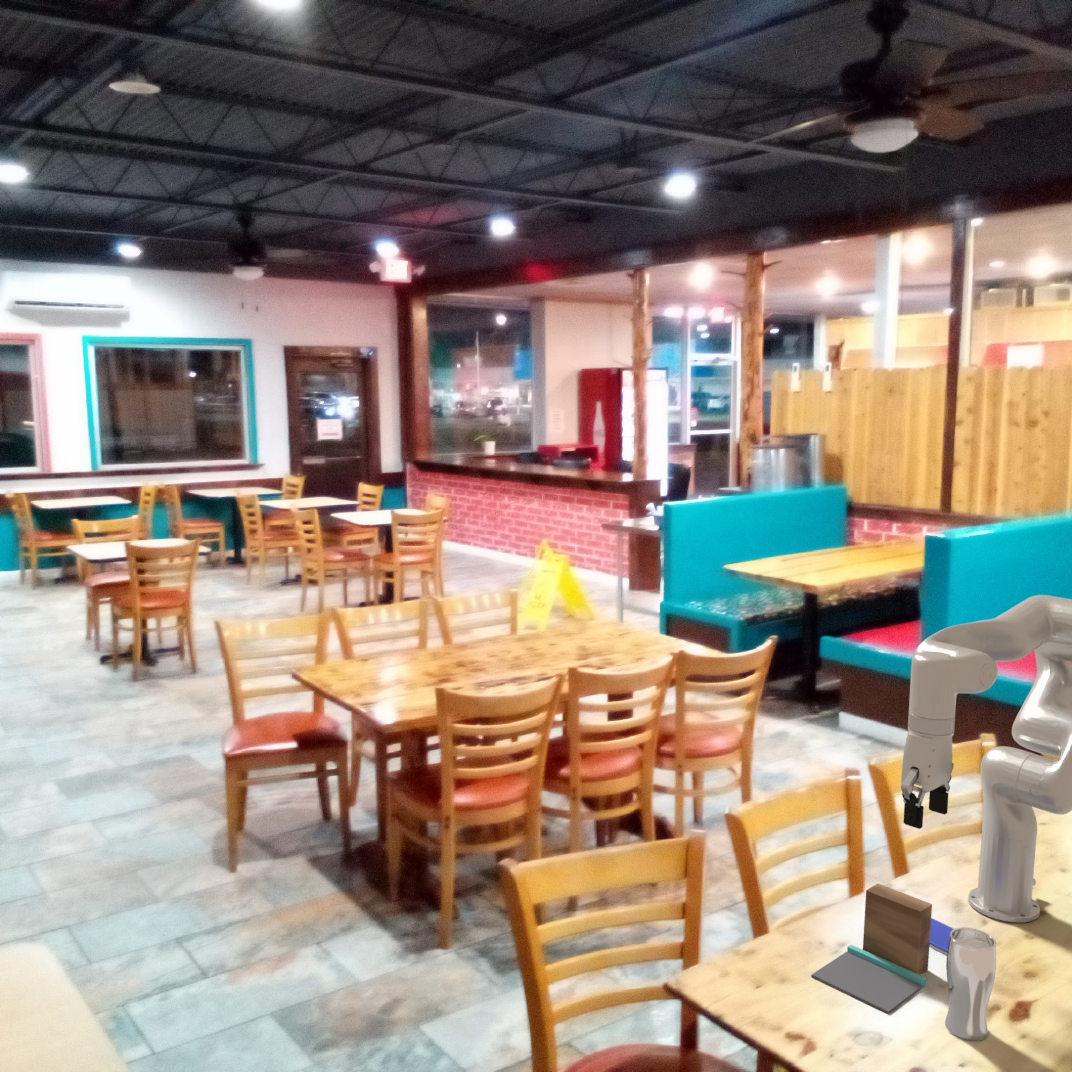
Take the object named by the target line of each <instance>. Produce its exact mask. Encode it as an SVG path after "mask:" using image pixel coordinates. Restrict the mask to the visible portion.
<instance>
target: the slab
mask: <svg viewBox="0 0 1072 1072" xmlns="http://www.w3.org/2000/svg"><path fill="white" fill-rule="evenodd" d="M932 910H933V903H930V902H927V901H925V900H922V899H919V898H917V897H914V896H913V895H909V894H907V893H904V892H902V891H899V890H896V889H894V888H891V887H888V886H885V885H884V884H882V883H876V884H874V885H872V886H870V887H869V888H868V889H866V890H865V904H864V921H863V922H864V923H863V926H864V927H863V940H862V950H865V951H867V952H869V953H871V954H874V955H876V956H878V957H880V958H883V959H885V960H887V961H889V962H892V963H894V964H896V965H898V966H901V967H903V968H905V969H907V970H910V971H912V972H914V973H917V974H919V975H921V976H923V975H924V974H925V973H927V972H928V970H929V958H930V955H929V954H930V947H929V944H930V929H931V918H932Z"/></svg>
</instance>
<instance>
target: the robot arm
mask: <svg viewBox="0 0 1072 1072" xmlns="http://www.w3.org/2000/svg"><path fill="white" fill-rule="evenodd" d="M1032 652H1034V654H1035V661H1036V676H1035V681H1034V683H1033V685H1032V686H1031V688H1030V691H1029V693H1028V694H1027V695H1026V698H1025V699H1024V702H1023V704H1022V706H1021V707H1020V710H1019V711H1018V713H1017V715H1016V717H1015V719H1014V721H1013V724H1012V727H1011V736H1012V738H1013V740H1014V741H1015V742H1016V743H1017V744H1018V745H1019V746H1021V747H1023V748H1025V749H1027V750H1024V749H1021V748H1016V747H1012V746H1005V745H1001V746H995V747H992V748H990V749H989V750H988V751H986V753H985V754H984V755H983V757H982V760H981V762H980V769H979V770H980V780H981V788H982V797H983V798H982V801H983V802H982V803H983V809H982V825H981V836H980V837H981V838H980V851H979V863H978V864H979V865H978V879H977V880H978V881H977V882H978V883H977V887H975V888H973V889H972V890H971V889H970V891H969V893H968V897H967V898H968V899H967V900H968V903H969V905H970V906H971V907H972V908H973V909H974V910H976V911H977V912H979V913H980V914H982V915H984V916H986V917H989V918H992V919H995V920H999V921H1003V922H1009V923H1029V922H1033V921H1035V920H1036V919H1038V918H1039V917H1040V914H1041V912H1040V911H1041V908H1040V906H1039V903H1037V901H1036V900H1035V899H1033V889H1034V888H1033V887H1035V885H1036V884H1037V883H1036V882H1037V881H1036V879H1035V878H1034V875H1035V874H1034V872H1035V863H1036V862H1035V861H1036V848H1037V836H1038V820H1037V816H1036V814H1035V811H1034V808H1036V809H1039V810H1042V811H1044V812H1047V813H1049V814H1054V815H1060V816H1063V815H1067V814H1069V813H1071V812H1072V598H1065V597H1062V596H1061V597H1059V596H1053V595H1048V594H1037V595H1032V596H1030V597H1027V598H1026V599H1024V600H1023V601H1021V602H1020V603H1018V604H1016V605H1014V606H1013V607H1010V609H1008V610H1007V611H1005V612H1003V613H1001V614H1000V615H997V616H996V617H993V618H989V619H983V620H977V621H972V622H971V621H970V622H966V623H961V624H955V625H952V626H948V627H946V628H945V627H944V628H943V629H941V630H939V631H937V632H935V633H933V634H932V635H930V636H928V637H927V638H925V639H924V640H923V641H922V642H920V644H918V645H917V647H916V649H915V650H914V653H913V655H912V659H911V667H910V681H909V682H910V685H909V700H908V701H909V703H908V704H909V705H908V721H907V731H908V732H907V736H906V738H905V742H904V743H905V744H904V748H903V756H902V764H901V775H900V784H901V786H900V788H901V792H902V794H901V796H902V799H903V804H904V807H903V824H904V825H906V826H909V827H912V828H915V829H918V830H920V829H922V828H923V825H924V824H923V823H924V809H925V808H924V806H923V805H922V804H923V801H924V798H925V795H926V793H929V798H928V799H929V800H928V809H929V811H931V812H935V813H938V814H941V815H944V816H945V815H947V814H948V810H949V809H948V807H949V792H950V790H951V786H950V782H951V780H952V777H953V776H952V774H953V770H954V766H955V765H954V762H953V737H954V736H955V724H956V723H955V722H956V705H957V696H958V694H979V693H983V692H986V691H987V690H989V689H991V688H992V686H993V685H994V683H995V682H996V680H997V679H998V678H997V677H998V671H999V669H998V664H997V663H998V662H999V663H1000V662H1002V663H1003V662H1013V661H1014V662H1015V661H1018V660H1021V659H1023V658H1025V657H1026V656H1027V655H1029V654H1031V653H1032ZM1028 750H1030V751H1028ZM1031 751H1033V752H1031ZM1034 752H1036V753H1034ZM1037 753H1039V754H1042V755H1039V754H1037ZM1043 755H1046V756H1050V757H1053V758H1050V757H1045V756H1043ZM1054 758H1056V759H1058V760H1056V759H1054ZM915 785H916V786H915ZM918 786H920V787H918ZM913 792H916V793H918V794H917V796H916V794H915V793H913Z"/></svg>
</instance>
